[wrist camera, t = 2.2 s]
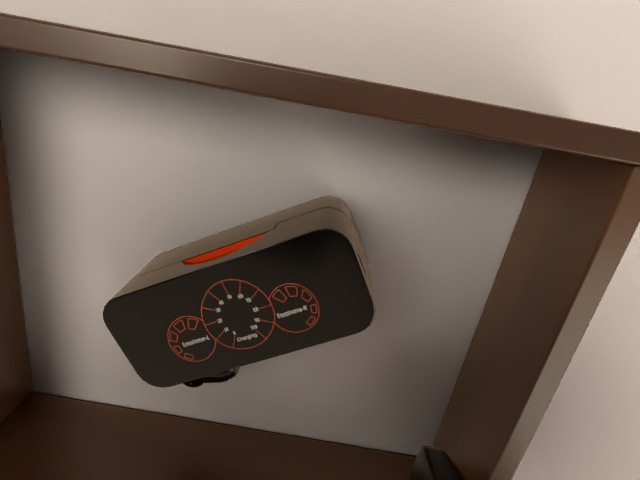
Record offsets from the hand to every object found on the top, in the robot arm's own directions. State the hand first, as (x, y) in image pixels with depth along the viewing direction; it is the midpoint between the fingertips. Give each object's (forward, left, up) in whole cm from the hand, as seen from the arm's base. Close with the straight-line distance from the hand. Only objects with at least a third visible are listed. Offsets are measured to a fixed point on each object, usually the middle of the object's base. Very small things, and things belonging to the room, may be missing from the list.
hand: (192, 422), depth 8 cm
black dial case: (0, 0, -6) cm, 6 cm away
